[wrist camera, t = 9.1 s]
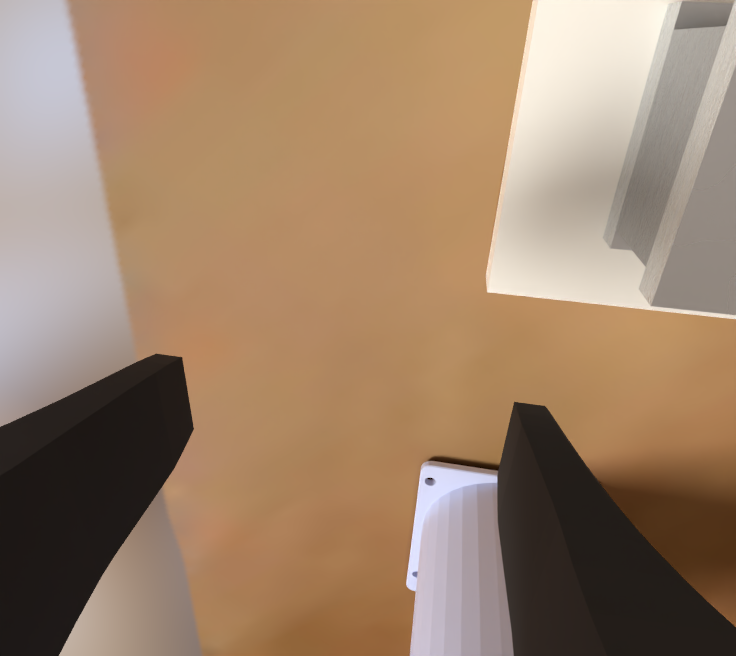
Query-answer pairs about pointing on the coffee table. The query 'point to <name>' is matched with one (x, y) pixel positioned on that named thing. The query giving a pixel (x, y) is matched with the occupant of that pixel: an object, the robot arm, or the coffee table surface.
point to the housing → (684, 165)
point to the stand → (574, 152)
